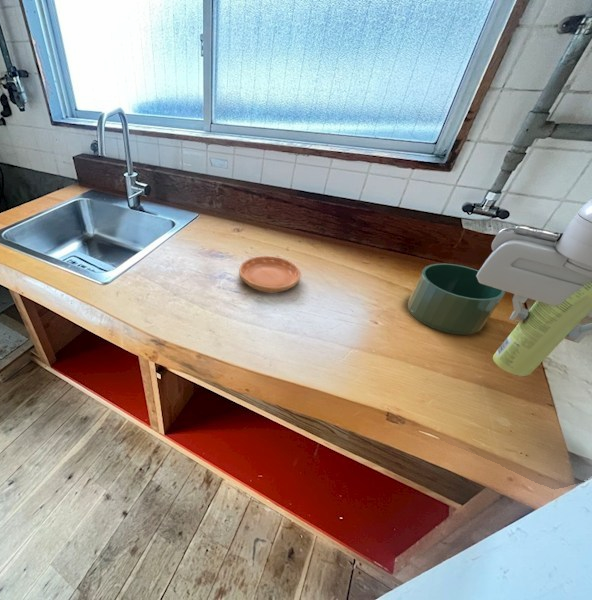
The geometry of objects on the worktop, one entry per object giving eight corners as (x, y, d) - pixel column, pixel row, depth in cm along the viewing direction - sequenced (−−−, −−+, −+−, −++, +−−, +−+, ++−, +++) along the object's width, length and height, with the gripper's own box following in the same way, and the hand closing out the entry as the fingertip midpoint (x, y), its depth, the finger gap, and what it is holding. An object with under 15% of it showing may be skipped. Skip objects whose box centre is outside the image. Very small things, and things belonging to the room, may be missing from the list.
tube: (542, 371, 51) (640, 265, 39) (526, 384, 49) (624, 277, 37) (500, 349, 55) (578, 247, 43) (484, 361, 53) (561, 257, 42)
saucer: (311, 281, 85) (313, 271, 83) (270, 304, 78) (272, 294, 76) (266, 259, 96) (267, 250, 94) (226, 277, 88) (226, 268, 86)
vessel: (489, 312, 72) (511, 279, 67) (473, 344, 64) (497, 309, 59) (419, 288, 81) (433, 257, 75) (398, 314, 73) (412, 281, 68)
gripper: (499, 228, 44) (453, 308, 52) (763, 286, 31) (648, 379, 40) (508, 215, 47) (463, 292, 55) (749, 262, 35) (646, 352, 43)
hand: (542, 329), depth 47 cm, fingers closed on tube, 5 cm apart
